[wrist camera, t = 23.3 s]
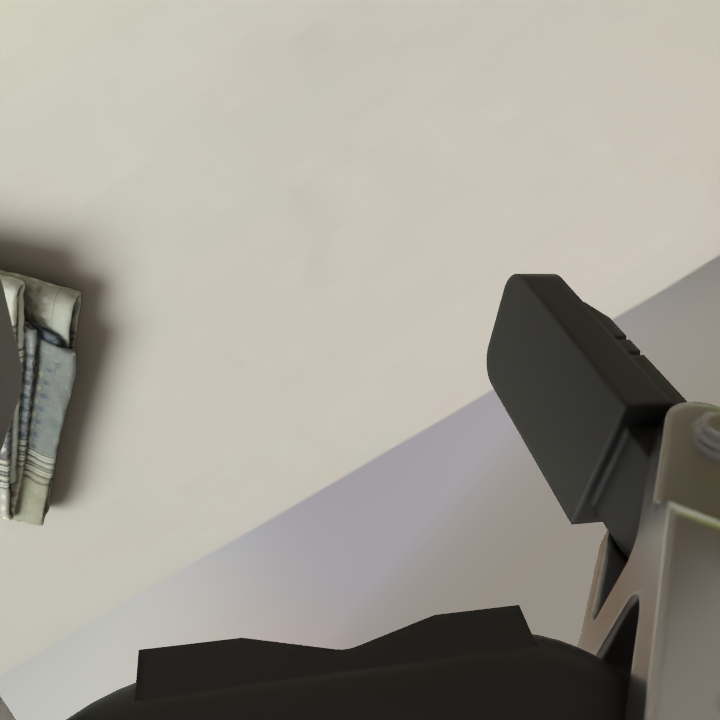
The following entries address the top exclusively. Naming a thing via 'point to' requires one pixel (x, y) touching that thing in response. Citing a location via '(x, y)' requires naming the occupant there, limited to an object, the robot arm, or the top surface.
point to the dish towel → (37, 392)
